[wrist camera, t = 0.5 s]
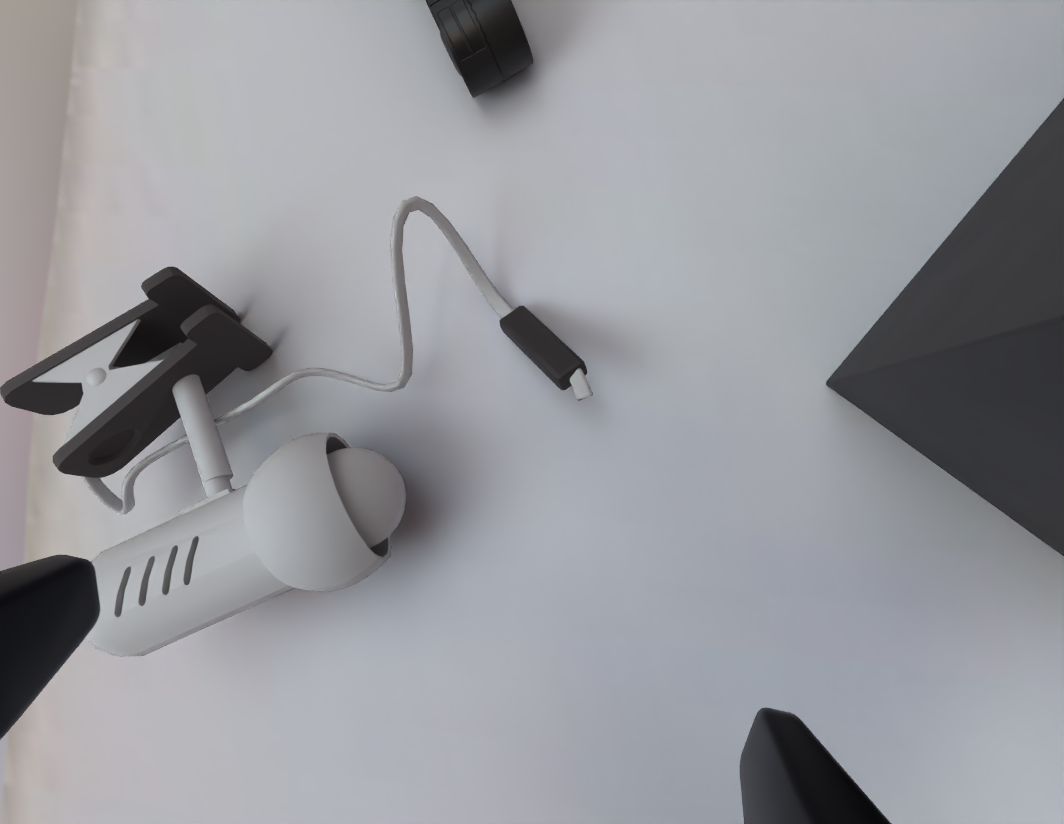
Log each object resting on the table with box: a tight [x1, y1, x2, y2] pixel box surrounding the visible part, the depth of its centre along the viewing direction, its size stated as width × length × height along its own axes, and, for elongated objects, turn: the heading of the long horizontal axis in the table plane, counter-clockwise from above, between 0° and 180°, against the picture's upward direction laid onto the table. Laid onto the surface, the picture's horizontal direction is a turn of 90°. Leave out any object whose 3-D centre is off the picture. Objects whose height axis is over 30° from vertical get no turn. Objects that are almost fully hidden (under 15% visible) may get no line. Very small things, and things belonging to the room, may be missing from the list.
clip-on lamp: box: [0, 196, 593, 656], centre depth 19 cm, size 12×6×18 cm
